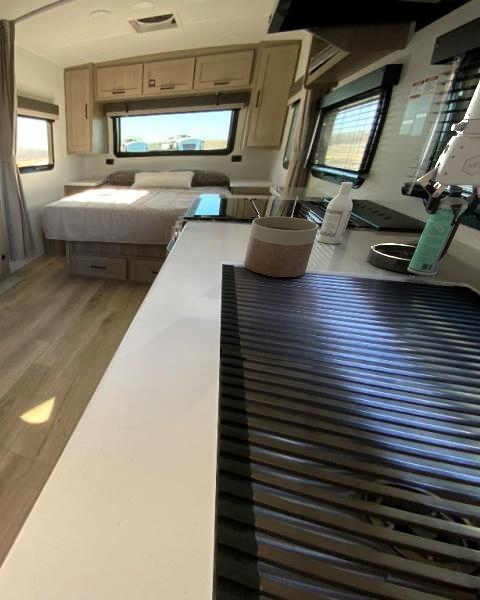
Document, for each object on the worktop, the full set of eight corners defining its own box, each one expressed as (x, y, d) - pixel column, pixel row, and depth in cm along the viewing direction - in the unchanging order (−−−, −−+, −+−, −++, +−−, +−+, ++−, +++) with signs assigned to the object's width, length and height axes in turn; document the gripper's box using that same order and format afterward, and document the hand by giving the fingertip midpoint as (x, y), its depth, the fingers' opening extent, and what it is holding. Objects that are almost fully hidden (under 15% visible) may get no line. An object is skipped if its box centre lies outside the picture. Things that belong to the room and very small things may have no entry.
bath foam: (332, 238, 121) (350, 180, 112) (345, 244, 114) (366, 183, 105) (313, 239, 121) (329, 181, 112) (325, 244, 115) (344, 184, 106)
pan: (425, 259, 99) (431, 246, 98) (447, 278, 87) (454, 264, 85) (361, 253, 106) (366, 241, 104) (373, 270, 94) (379, 257, 92)
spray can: (442, 275, 82) (482, 192, 73) (420, 276, 83) (456, 193, 74) (422, 266, 87) (457, 188, 78) (401, 268, 88) (433, 189, 78)
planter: (247, 277, 93) (257, 229, 87) (240, 258, 106) (248, 215, 100) (312, 282, 89) (327, 231, 82) (296, 261, 102) (308, 216, 96)
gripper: (437, 131, 71) (405, 215, 79) (558, 125, 64) (508, 219, 72) (424, 130, 77) (395, 209, 85) (533, 125, 69) (489, 212, 78)
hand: (447, 213), depth 78 cm, fingers closed on spray can, 5 cm apart
